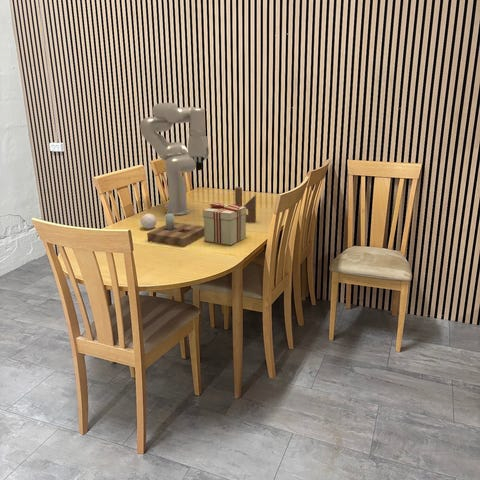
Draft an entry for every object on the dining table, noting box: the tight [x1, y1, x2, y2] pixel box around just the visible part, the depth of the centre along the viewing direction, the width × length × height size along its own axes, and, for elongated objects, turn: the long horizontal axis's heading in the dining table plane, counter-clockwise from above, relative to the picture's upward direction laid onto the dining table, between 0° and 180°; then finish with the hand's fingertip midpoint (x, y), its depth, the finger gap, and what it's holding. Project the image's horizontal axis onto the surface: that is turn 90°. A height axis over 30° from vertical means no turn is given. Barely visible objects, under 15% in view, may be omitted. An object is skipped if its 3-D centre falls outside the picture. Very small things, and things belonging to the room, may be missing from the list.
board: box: [146, 221, 205, 248], centre depth 229 cm, size 20×20×4 cm
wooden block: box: [234, 186, 257, 224], centre depth 252 cm, size 4×11×18 cm, turn 77°
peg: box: [165, 213, 175, 231], centre depth 230 cm, size 4×4×11 cm
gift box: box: [202, 201, 247, 246], centre depth 226 cm, size 17×18×17 cm
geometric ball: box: [140, 212, 157, 230], centre depth 244 cm, size 8×8×8 cm
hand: (199, 169), depth 249 cm, fingers closed
